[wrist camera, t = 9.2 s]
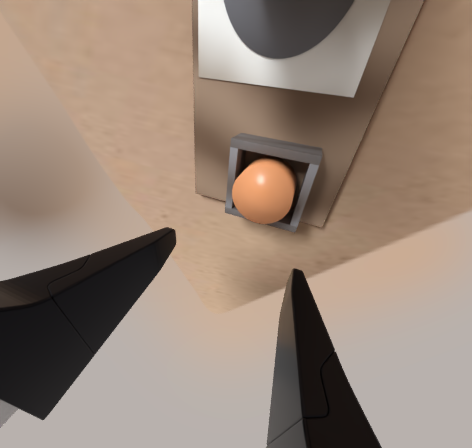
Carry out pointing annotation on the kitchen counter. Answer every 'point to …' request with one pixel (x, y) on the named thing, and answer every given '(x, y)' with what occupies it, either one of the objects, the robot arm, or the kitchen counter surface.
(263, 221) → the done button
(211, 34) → the board
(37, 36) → the kitchen counter surface
